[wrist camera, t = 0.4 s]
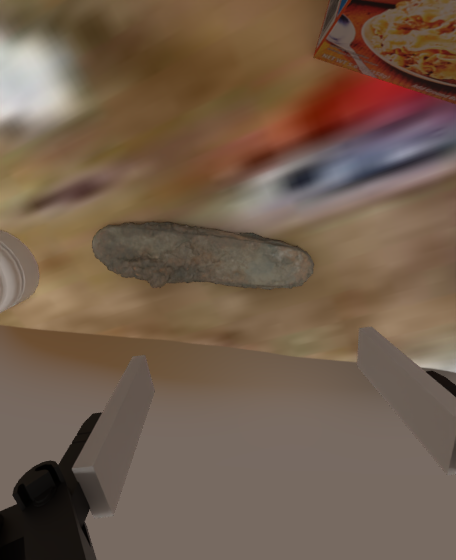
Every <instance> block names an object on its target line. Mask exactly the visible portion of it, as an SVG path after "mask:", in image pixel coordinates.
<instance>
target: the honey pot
mask: <svg viewBox="0 0 456 560" xmlns="http://www.w3.org/2000/svg"><path fill="white" fill-rule="evenodd" d="M38 283H39V269H38V264H37V262H36V260H35V257H34V255H33V254H32V253H31V251H30V250H29V249H28V247H27V246H26V245H25V244H24V243H22V242H21V241H20V240H19V239H18V238H16V237H14V236H13V235H11V234H9V233H8V232H5V231H2V230H0V312H3V311H5V310H6V309H8V308H10V307H12V306H14V305H16V304H18V303H20V302H22V301H24V300H26V299H28V298H29V297H30V296H31V295H32V294H33V293H34V292H35V290H36V288H37V286H38Z"/></svg>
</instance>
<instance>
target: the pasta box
mask: <svg viewBox="0 0 456 560" xmlns="http://www.w3.org/2000/svg"><path fill="white" fill-rule="evenodd" d="M313 58H316V59H319V60H323V61H326V62H329V63H332V64H335V65H338V66H341V67H344V68H347V69H350V70H353V71H356V72H359V73H362V74H365V75H368V76H371V77H375V78H378V79H381V80H384V81H387V82H390V83H393V84H396V85H399V86H402V87H405V88H408V89H411V90H414V91H417V92H420V93H423V94H426V95H430V96H433V97H436V98H439V99H442V100H445V101H448V102H451V103H454V104H456V0H329V4H328V7H327V11H326V15H325V18H324V22H323V25H322V29H321V32H320V36H319V39H318V43H317V47H316V50H315V54H314V57H313Z"/></svg>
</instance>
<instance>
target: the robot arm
mask: <svg viewBox="0 0 456 560" xmlns="http://www.w3.org/2000/svg"><path fill="white" fill-rule="evenodd" d="M357 367H358V368H359V369H360V370H361V371H362V373H363V374H364V375H365V376H366V377H367V379H368V380H369V381H370V382H371V383H372V385H373V386H374V387H375V388H376V389H377V391H378V392H379V393H380V394H381V396H382V397H383V398H384V399H385V400H386V402H387V403H388V404H389V405H390V406H391V408H392V409H393V410H394V411H395V412H396V414H397V415H398V416H399V417H400V418H401V420H402V421H403V422H404V423H405V424H406V426H407V427H408V428H409V429H410V431H411V432H412V433H413V434H414V435H415V437H416V438H417V439H418V440H419V442H420V443H421V444H422V445H423V446H424V448H426V450H427V451H428V452H429V454H430V455H431V456H432V457H433V458H434V460H435V461H436V462H437V463H438V464H439V466H440V467H441V468H442V469H443V471H444V472H445V473H446V474H447V475H452V474H456V385H455V384H453V383H452V382H451V381H450V380H448V379H447V378H446V377H444V376H442V375H440V374H438V373H436V372H434V371H426V372H425V371H424V370H423V369H421V368H420V367H419V366H418V365H417V364H415V363H414V362H413V361H412V360H411V359H409V358H408V357H407V356H406V355H405V354H404V353H402V352H401V351H400V350H399V349H398V348H396V347H395V346H394V345H393V344H392V343H390V342H389V341H388V340H387V339H386V338H384V337H383V336H382V335H381V334H380V333H378V332H377V331H376V330H375V329H374V328H373V327H365V328H359V339H358V360H357ZM154 392H155V391H154V387H153V383H152V379H151V375H150V372H149V368H148V364H147V360H146V356H145V355H142V356H134V357H132V359H131V361H130V363H129V364H128V366H127V368H126V370H125V372H124V374H123V375H122V377H121V379H120V381H119V383H118V385H117V386H116V389H115V390H114V392H113V394H112V396H111V397H110V399H109V401H108V403H107V405H106V407H105V409H104V410H103V412H102V413H95V414H92V415H91V416H90V417H89V418H88V419H87V420H86V421H85V422H84V423H83V425H82V426H81V428H80V430H79V431H78V433H77V436H75V438H74V440H73V441H72V444H71V445H70V446H69V448H68V450H67V452H66V453H65V455H64V456H63V458H62V460H61V461H60V463H59V465H58V464H57V463H56V462H55V461H46V462H42V463H40V464H38V465H36V466H34V467H33V468H32V469H30V470H29V471H28V472H26V473H25V474H24V475H23V476H22V477H21V479H20V480H19V481H18V483H17V484H16V486H15V487H14V491H13V497H14V499H15V500H16V502H17V504H16V505H14V506H12V507H9V508H7V509H5V510H2V511H0V560H96V556H95V553H94V550H93V546H92V543H91V539H90V536H89V533H88V529H87V526H86V523H85V519H86V517H87V514H88V512H89V509H90V511H91V513H92V515H93V517H94V518H101V517H110V516H114V513H115V510H116V506H117V504H118V501H119V498H120V494H121V492H122V488H123V485H124V482H125V479H126V476H127V473H128V470H129V467H130V464H131V461H132V458H133V455H134V452H135V449H136V446H137V443H138V440H139V437H140V434H141V431H142V428H143V425H144V422H145V419H146V416H147V413H148V410H149V407H150V404H151V401H152V398H153V395H154Z"/></svg>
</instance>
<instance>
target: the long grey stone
mask: <svg viewBox="0 0 456 560" xmlns="http://www.w3.org/2000/svg"><path fill="white" fill-rule="evenodd" d="M92 248H93V252H94V255H95V257H96V258H97V259H99V260H100V261H101V262H103V263H104V265H106V266H107V268H108V270H110V271H113V272H114V273H116V274H121V276H122V277H125V278H128V277H129V278H130V277H135V278H137V279H140V280H146V281H148V283H150V285H151V287H153V288H154V287H155V288H157V287H160V288H161V287H162V286H164V285H165V284H166V283H179V282H186V283H189V282H193V281H194V282H198V281H199V282H201V281H202V282H212V283H215V284H223V285H227V286H236V287H243V288H248V287H251V288H257V287H259V288H262V289H269V290H271V289H274V288H290V289H291V288H293V287H296V286H302V285H303V282H306V281H307V279H308V278H309V277H310V276H311V274H313V266H314V263H313V261H312V259H311V256H310V255H309V254H308V253H307V252H306V251H304V250H302V249H301V248H299V247H298V246H296V247H295V246H291V245H289V244H287V243H285V242H283V241H279V240H270V239H269V238H263V237H261V236H259V235H256V234H254V233H244V234H242V233H240V234H235V233H231V232H225V231H221V230H217V229H207V228H202V227H200V228H198V227H196V226H195V227H190V226H188V225H179V224H174V223H171V222H165V223H158V222H150V223H148V222H147V223H144V224H135V223H123V224H121V225H107V226H106V227H104V228H103V229H100V230H99V231H98V232H97V233H96V235H95V236H94V238H93V241H92Z"/></svg>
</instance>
